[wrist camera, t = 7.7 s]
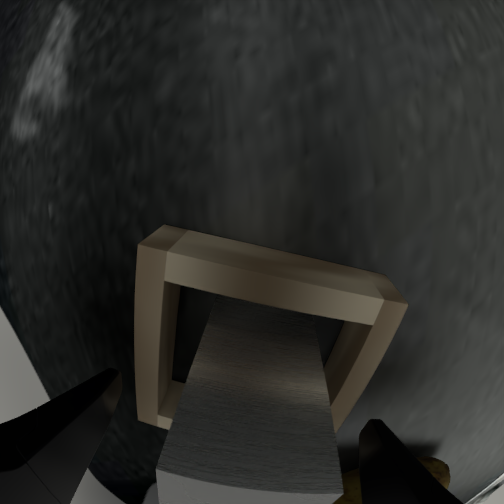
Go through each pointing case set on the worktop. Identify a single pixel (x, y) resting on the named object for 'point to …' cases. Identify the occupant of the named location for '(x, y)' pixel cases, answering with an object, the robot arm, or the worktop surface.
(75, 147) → the worktop surface
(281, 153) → the worktop surface
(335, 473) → the brushed grey square prism
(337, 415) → the frame
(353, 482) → the potato
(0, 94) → the worktop surface
